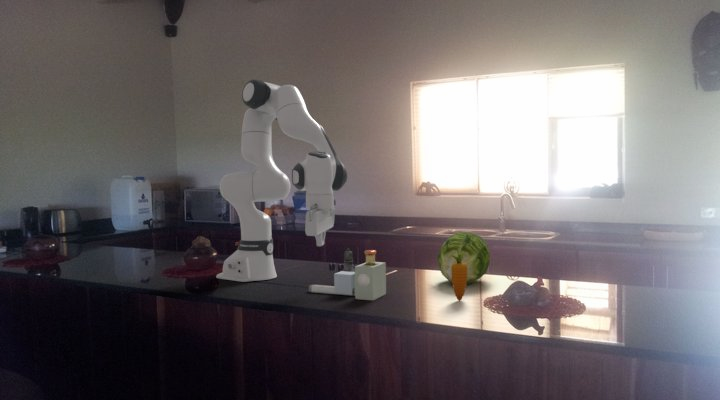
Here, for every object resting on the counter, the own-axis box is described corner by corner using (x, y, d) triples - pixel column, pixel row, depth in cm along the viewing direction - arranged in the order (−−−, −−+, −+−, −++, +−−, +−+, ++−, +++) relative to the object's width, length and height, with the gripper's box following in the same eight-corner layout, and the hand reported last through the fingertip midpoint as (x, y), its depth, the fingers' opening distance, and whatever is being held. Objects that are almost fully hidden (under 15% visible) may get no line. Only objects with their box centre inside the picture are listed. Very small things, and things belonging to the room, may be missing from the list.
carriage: (334, 293, 187) (334, 273, 187) (341, 290, 192) (341, 271, 192) (351, 295, 185) (351, 274, 185) (358, 291, 189) (358, 272, 189)
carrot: (464, 303, 174) (463, 252, 173) (448, 301, 176) (448, 251, 176) (470, 300, 178) (470, 250, 177) (454, 298, 181) (454, 249, 180)
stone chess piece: (355, 283, 206) (354, 249, 205) (338, 283, 207) (338, 248, 206) (358, 280, 212) (358, 246, 211) (342, 279, 213) (342, 246, 212)
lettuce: (425, 288, 197) (432, 240, 193) (442, 266, 218) (449, 222, 214) (477, 302, 191) (486, 252, 187) (490, 278, 213) (498, 232, 208)
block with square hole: (354, 299, 181) (354, 266, 181) (368, 292, 191) (368, 261, 190) (372, 300, 179) (372, 267, 178) (386, 293, 188) (385, 262, 188)
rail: (308, 291, 193) (308, 285, 193) (312, 290, 195) (312, 284, 195) (360, 296, 185) (360, 290, 185) (363, 294, 187) (363, 288, 187)
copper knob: (362, 269, 184) (362, 251, 183) (367, 267, 187) (367, 249, 187) (373, 270, 182) (373, 252, 182) (378, 268, 185) (378, 250, 185)
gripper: (319, 206, 179) (320, 251, 181) (337, 199, 199) (338, 240, 201) (299, 206, 181) (300, 251, 182) (319, 199, 201) (320, 240, 202)
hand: (320, 245), depth 192 cm, fingers closed
